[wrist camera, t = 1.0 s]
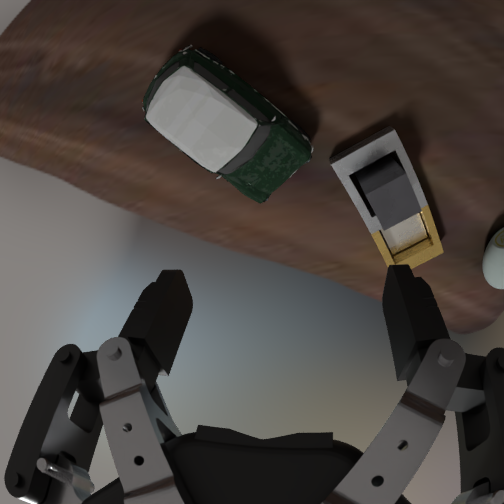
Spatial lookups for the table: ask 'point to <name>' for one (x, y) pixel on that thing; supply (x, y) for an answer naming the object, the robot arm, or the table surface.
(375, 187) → the grey block
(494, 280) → the air freshener
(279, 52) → the table surface
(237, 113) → the miniature car
